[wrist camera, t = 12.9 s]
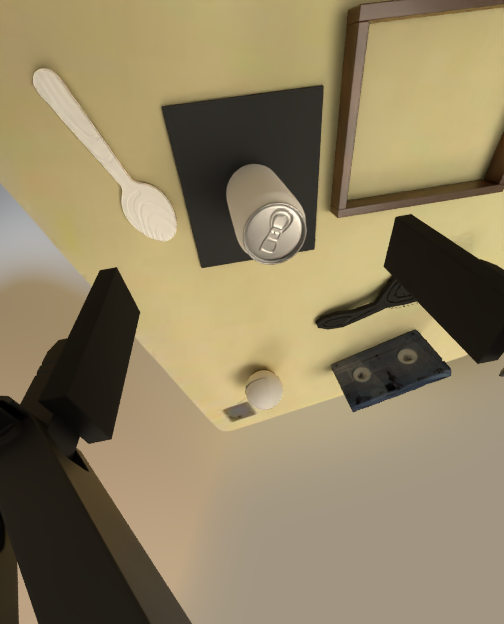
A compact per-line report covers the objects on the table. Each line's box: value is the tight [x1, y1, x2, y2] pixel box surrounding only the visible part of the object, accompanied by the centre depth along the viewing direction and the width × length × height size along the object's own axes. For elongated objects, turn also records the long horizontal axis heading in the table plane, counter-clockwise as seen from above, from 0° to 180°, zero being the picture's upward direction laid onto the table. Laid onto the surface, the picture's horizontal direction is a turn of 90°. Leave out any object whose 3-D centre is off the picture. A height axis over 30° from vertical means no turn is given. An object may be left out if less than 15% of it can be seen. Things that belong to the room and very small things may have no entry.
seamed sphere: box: [239, 370, 283, 410], centre depth 54 cm, size 10×7×7 cm
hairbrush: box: [315, 277, 416, 329], centre depth 46 cm, size 8×4×25 cm
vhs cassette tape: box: [331, 330, 451, 412], centre depth 53 cm, size 18×3×10 cm, turn 114°
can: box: [226, 164, 307, 265], centre depth 28 cm, size 6×6×12 cm
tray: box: [330, 0, 504, 218], centre depth 30 cm, size 18×22×2 cm
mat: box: [162, 85, 324, 268], centre depth 33 cm, size 18×16×1 cm
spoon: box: [33, 68, 177, 241], centre depth 29 cm, size 5×18×1 cm, turn 27°
